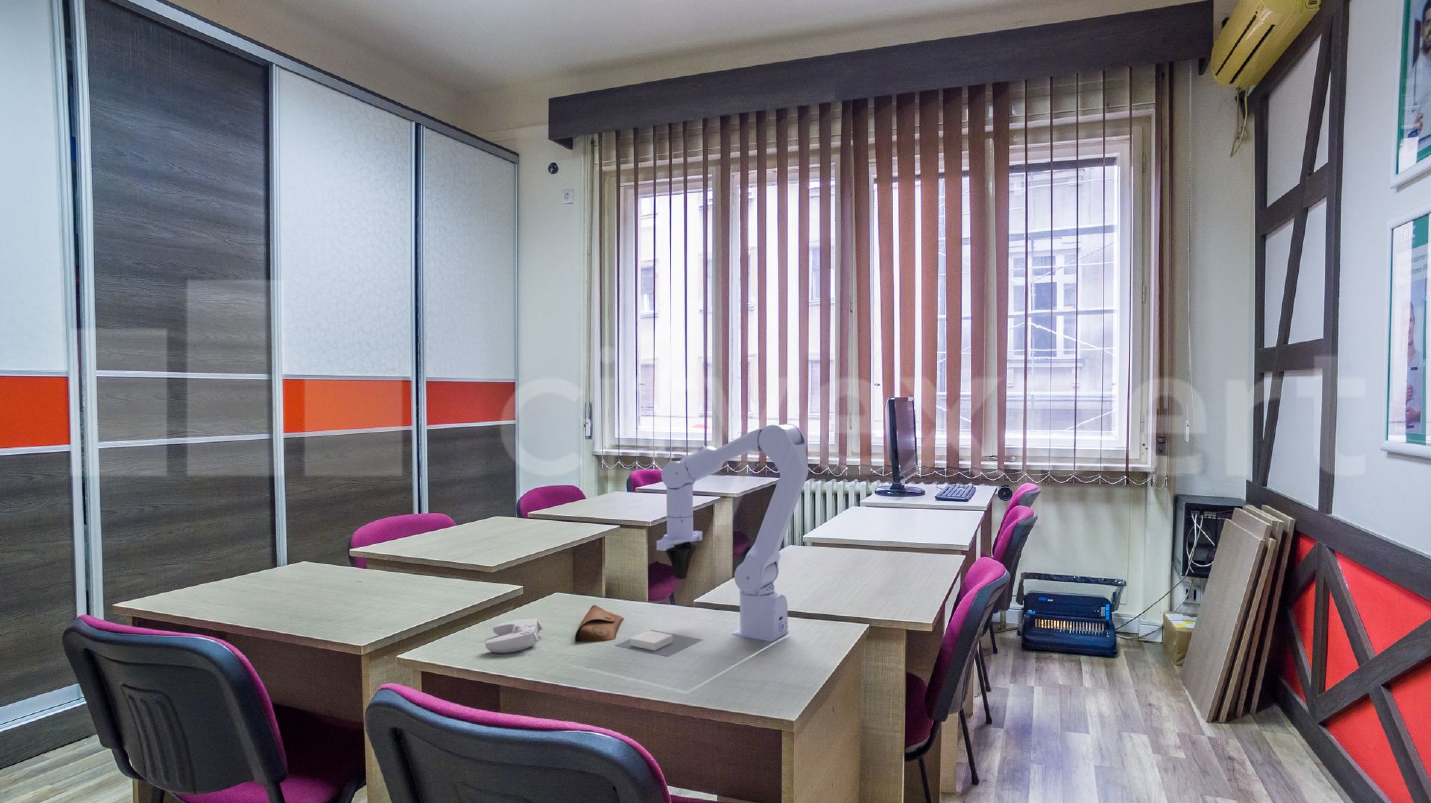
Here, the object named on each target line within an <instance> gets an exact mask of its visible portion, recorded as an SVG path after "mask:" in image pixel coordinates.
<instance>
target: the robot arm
mask: <svg viewBox="0 0 1431 803" xmlns="http://www.w3.org/2000/svg"><path fill="white" fill-rule="evenodd" d="M807 442H808V441H807V439H806V437H805V435H804V434H803V432H802V431H801V430H800V428H799V427H798V426H797V425H795V424H793V423H784V424H770V425H767V426H765V427H762V428H757V429H754V430H751V431H750V432H747V433H746V434H743V435H741V436H740V437H738V438H736V439H733V440H732V441H730V442H728V443H726V444H724V445H721V446H719V447H718V448H715V447H714V446H711V445H709V446H706V445H702V446H699V447H698V448H697V449H698V451H696V452H693V453H691V454H689V455H687V454H684V455H682V456H680V460H676V461H674V460H673V461H669V462H668V463H666V464H665V465H664V466H663V467H662V471H661V475H660V476H661V481H662V482H663V484H664V485H665V486H666V487H665V489H666V534H663V537H662V538H661V539H659V540H656V551H662V552H665V554H666V555H667V557H668V559H669V561H670V564H671V568H672V571H673V575H674V578H675V579H678V580H684V579H687V576H688V572H689V568H690V563H691V560H692V557H693V555H694V553H695V552H696V550H697V545H696V544H692V543H694V542H697V541H702V540H703V531H702V530H701V531H700V530H694V508H693V506H694V505H693V504H694V502H693V501H694V498H693V497H694V496H693V493H694V484H695V482H697V481H700V480H702V479H704V478H706V477H709V476H711V475H713V474H715V473H718V472H720V471H721V470H722V467H723V465H724V463H725V462H727V461H730V460H733V459H735V458H737V457H740V456H742V455H745V454H747V453H749V452H752V451H754V452H763V454H764V455H766V457H768V458H769V460H770V461H771V462H773V464H774V465H775V467H776V469H777V471H778V473H779V475H780V476H779V478H778V479H777V480H778V481H777V483H776V486H775V488H774V491H773V493H772V497H771V499H770V500H769V504H768V507H767V510H766V512H765V515H764V518H763V520H762V522H761V526H760V528H759V530H758V533H757V536H756V538H755V541H754V543H753V545H752V546H751V548H750V549H749V550H748V552H747V553H746V555H745V558H744V560H743V561H742V562H741V563H740V564H739V565H738V566H737V567H736V569H735V571H734V582H735V585H736V586H737V588H738V589H739V621H740V623H739V624H740V628H739V629H736V630H735V631H732V633H731V634H732V636H733V635H734V636H739V637H746V638H751V639H756V640H760V641H761V640H762V641H765V642H773V641H776V640H777V639H778V638H781V637H782V636H785V635H786V634H788V633H789V632H790V629H789V626H788V623H789V622H788V620H789V618H788V600H787V598H786V596H785V595H784V594H782V593H778V592H776V591H775V585H774V582H776V580H777V578H778V576H779V571H780V570H779V562H780V559H781V554H780V548H781V545H782V542H783V540H784V537H785V535H786V532H787V530H788V527H789V525H790V522H791V519H792V516H793V514H794V511H795V509H796V507H797V504H798V502H799V499H800V497H801V493H802V491H803V488H804V485H805V483H806V481H807V479H808V474H809V467H808V456H807V451H806V449H807V448H806V447H807Z"/></svg>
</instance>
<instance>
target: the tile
mask: <svg viewBox="0 0 1431 803" xmlns="http://www.w3.org/2000/svg"><path fill="white" fill-rule="evenodd" d="M629 639H630V646H633V647H638V648H643V649H648V650H653V651H655V650H657V649H659V648H662V647H664V646H666V645H668V644H670V643H672V642H673V635H670V634H665V633H659V632H654V631H650V630H647V631H645V632H642V633H639V634H637V635H635V636H633V637H630V638H629Z"/></svg>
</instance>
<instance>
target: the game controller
mask: <svg viewBox="0 0 1431 803" xmlns="http://www.w3.org/2000/svg"><path fill="white" fill-rule="evenodd" d="M543 628H544V627H543V625H542V623H541V622H540V620H539V619H538V618H524V619H523V618H522V619H515V620H510V621H509V620H508V621H505V622H501V623H498V624H496V625H494V626H493V627H492V629H493V630H492V631H493V633H494V634H495V635H498V636H496V637H493V638H490V639H487V640H485V641H484V642H485V643H484V644H485V648H486V649H487V650H488V651H489V652H492V653H496V654H510V653H516V652H517V653H518V652H520V651H523V650H526V649H528V648H530V647H532V646H534V645H535V644H536V643H537V642H538V641H539V637H538V634H539V633H540V631H542V630H543Z"/></svg>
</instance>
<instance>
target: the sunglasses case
mask: <svg viewBox="0 0 1431 803" xmlns="http://www.w3.org/2000/svg"><path fill="white" fill-rule="evenodd" d="M624 620H625V618H624V617H623V616H621V615H617V614H616V613H613V612H609V611H607V610H605V609H603V608H601V606H599V605H596V604H593V605H591V607H590V608H589V610H588V611H587V612H586V614H585V616H584V617H583V619H582V620H581V622H580V624H579V626H578V628H577V630H576V633H575V636H574V639H575V642H576V643H588V642H589V643H592V642H593V643H594V642H609V641H615V640H616V638H617V634H618V630H619V628H620V626H621V624H622V623H623V621H624Z"/></svg>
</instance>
